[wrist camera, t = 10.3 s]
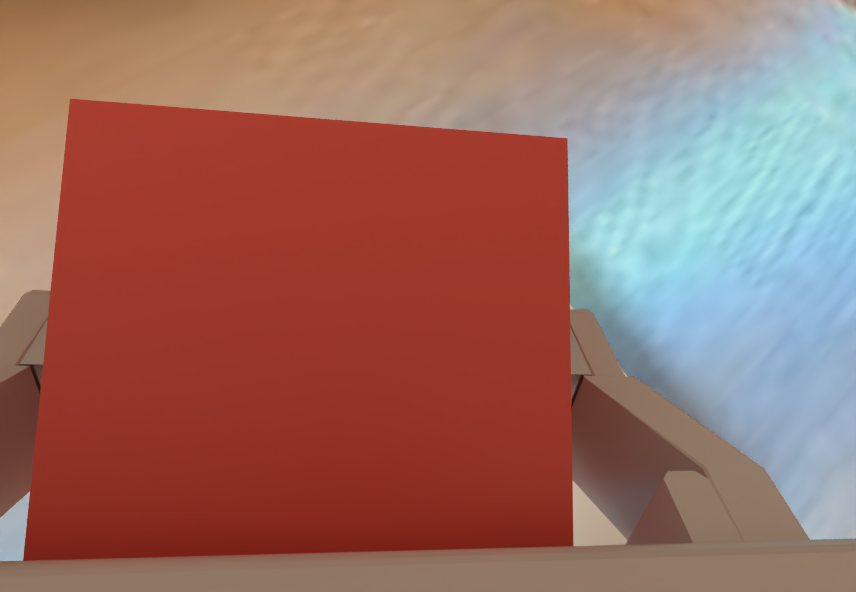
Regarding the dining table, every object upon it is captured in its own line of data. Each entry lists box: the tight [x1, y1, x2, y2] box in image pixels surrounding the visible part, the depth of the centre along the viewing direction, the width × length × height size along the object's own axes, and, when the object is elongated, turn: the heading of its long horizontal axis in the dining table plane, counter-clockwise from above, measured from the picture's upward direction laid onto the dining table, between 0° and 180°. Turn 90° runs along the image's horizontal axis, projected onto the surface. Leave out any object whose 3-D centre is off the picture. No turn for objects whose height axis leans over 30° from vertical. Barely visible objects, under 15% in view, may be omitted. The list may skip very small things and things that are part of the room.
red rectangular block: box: [23, 99, 573, 561], centre depth 10 cm, size 6×6×8 cm
